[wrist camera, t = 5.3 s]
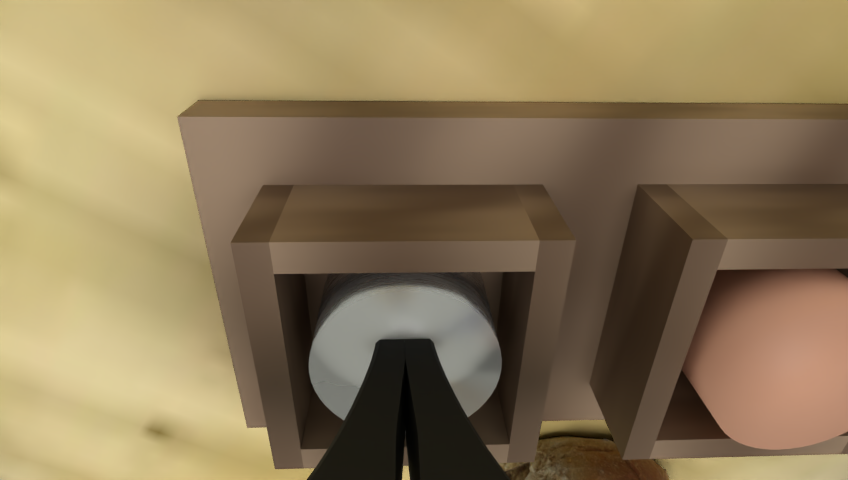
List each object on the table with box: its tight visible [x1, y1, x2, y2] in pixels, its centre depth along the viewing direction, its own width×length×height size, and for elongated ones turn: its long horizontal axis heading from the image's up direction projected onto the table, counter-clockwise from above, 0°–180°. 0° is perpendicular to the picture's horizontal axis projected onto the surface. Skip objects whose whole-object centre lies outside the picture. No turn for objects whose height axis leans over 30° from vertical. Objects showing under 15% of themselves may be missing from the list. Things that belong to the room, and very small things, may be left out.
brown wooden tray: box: [177, 100, 848, 469], centre depth 15 cm, size 21×11×4 cm, turn 89°
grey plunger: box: [309, 272, 502, 420], centre depth 14 cm, size 5×5×3 cm
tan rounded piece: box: [682, 269, 848, 450], centre depth 14 cm, size 5×5×3 cm
